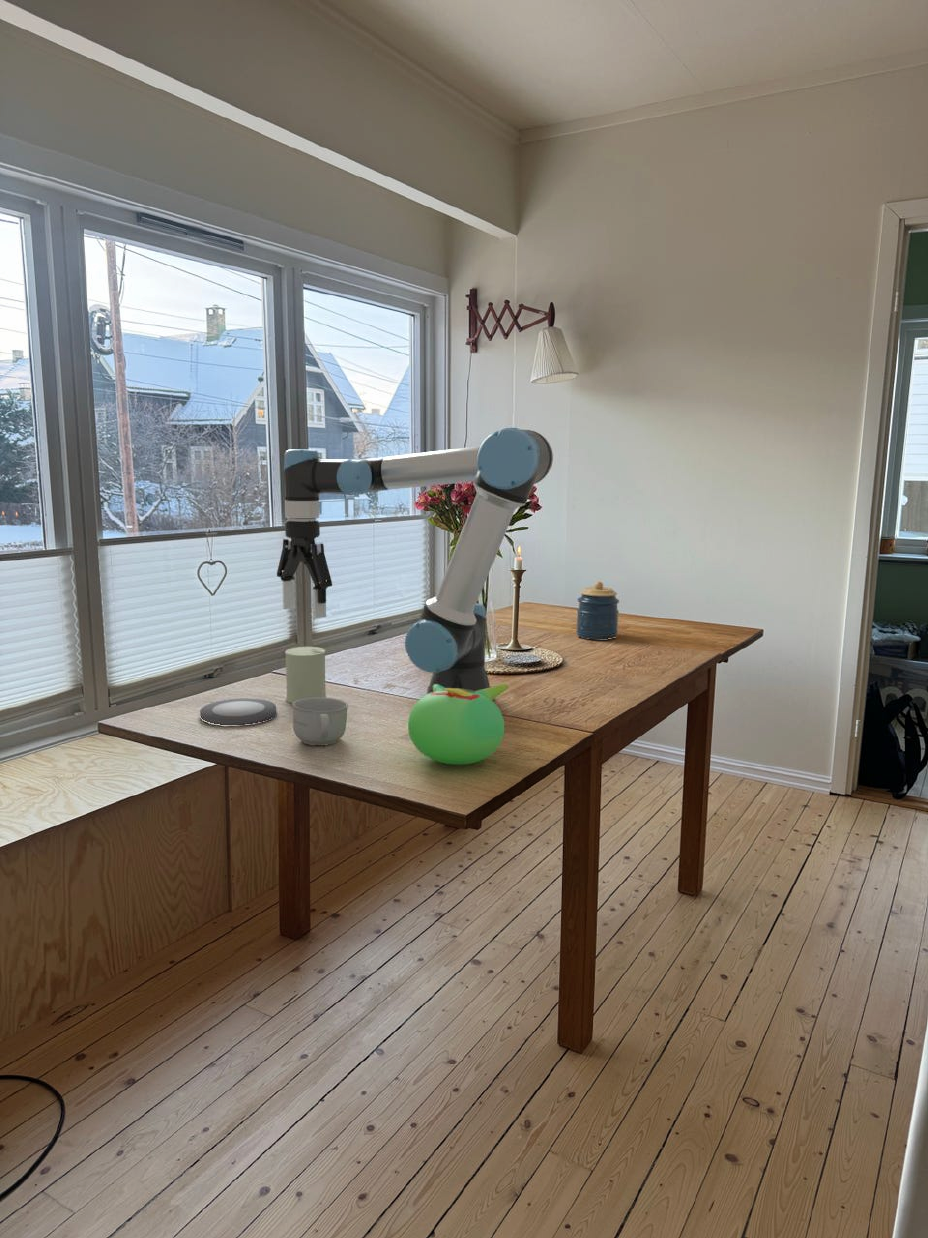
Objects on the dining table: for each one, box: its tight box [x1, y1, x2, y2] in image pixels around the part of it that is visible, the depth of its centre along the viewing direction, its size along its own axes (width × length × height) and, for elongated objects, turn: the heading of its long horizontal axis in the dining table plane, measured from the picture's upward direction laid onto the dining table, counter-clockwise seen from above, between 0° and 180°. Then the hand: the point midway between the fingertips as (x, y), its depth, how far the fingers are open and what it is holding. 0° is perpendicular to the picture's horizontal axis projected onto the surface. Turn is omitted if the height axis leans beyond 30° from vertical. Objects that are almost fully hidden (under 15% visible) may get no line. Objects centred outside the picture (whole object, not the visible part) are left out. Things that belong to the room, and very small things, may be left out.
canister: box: [575, 580, 620, 639], centre depth 275 cm, size 13×13×18 cm
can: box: [284, 646, 327, 704], centre depth 202 cm, size 9×9×12 cm
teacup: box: [291, 697, 349, 746], centre depth 172 cm, size 14×11×8 cm
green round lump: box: [407, 684, 510, 766], centre depth 163 cm, size 18×17×15 cm
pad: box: [199, 698, 277, 725], centre depth 190 cm, size 16×16×2 cm
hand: (304, 613), depth 199 cm, fingers open, 13 cm apart
